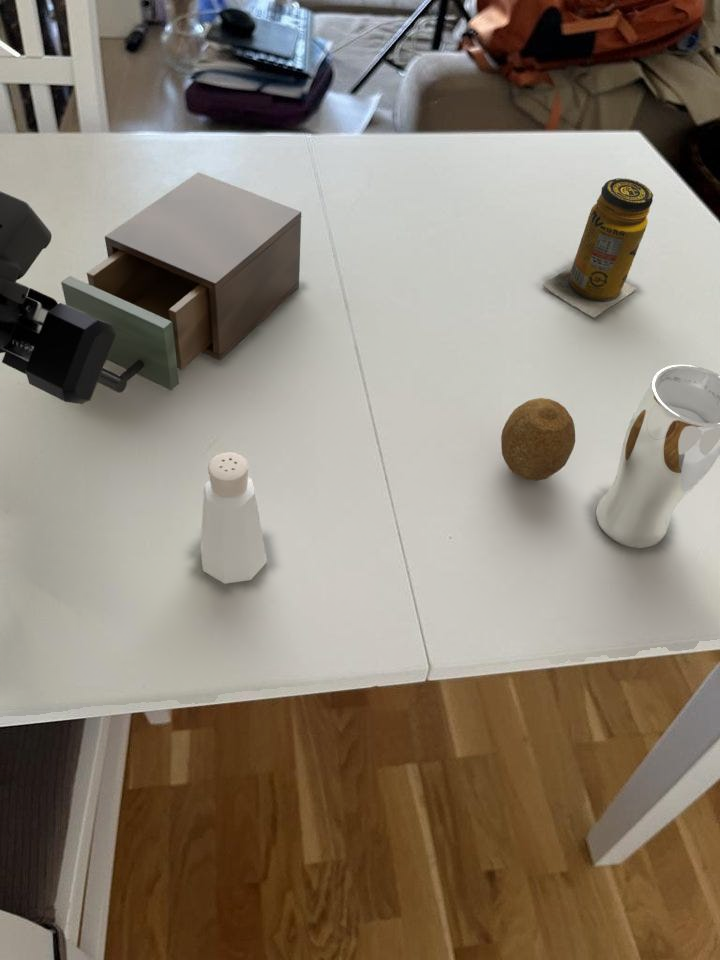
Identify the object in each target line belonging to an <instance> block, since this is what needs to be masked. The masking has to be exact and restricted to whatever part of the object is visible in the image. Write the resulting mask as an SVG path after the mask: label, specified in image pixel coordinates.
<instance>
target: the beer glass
mask: <svg viewBox="0 0 720 960" xmlns="http://www.w3.org/2000/svg"><path fill="white" fill-rule="evenodd" d="M621 447H622V448H621V452H620V456H619V461H618V466H617V467H618V468H617V471H616V475H615V478H614V480H613V482H612V485H611V486H610V488H609V489H608V490H607V492H605V494H604V495H603V496H602V497H601V498H600V500H599V501H598V502H597V505H596V509H595V517H596V520H597V523H598V525H599V527H600V528H601V530H602V531H603V533H605V535H607V536H608V538H610V539H612V540H613V541H614V542H616V543H618V544H620V545H622V546H626V547H629V548H633V549H634V548H635V549H646V548H652V547H654V546H656V545H657V544H659V543H660V542H661V541H662V540H663V539H664V538H665V536H666V534H667V531H668V528H669V524H670V521H671V517H672V515H673V512H674V511H675V509H676V507H677V506H678V505H679V504H680V502H681V501H682V500H683V499H684V498H685V497H686V496H687V495H688V494H689V493H690V492H691V491H692V490H693V489H694V488H695V487H696V486H697V485H698V484H699V482H701V480H703V479H704V477H705V476H706V475H707V474H708V472H709V471H710V470H711V469H712V468H713V466H714V464H715V463H716V462H717V460H718V458H719V457H720V375H719V374H717V373H715V372H714V371H712V370H709V369H707V368H704V367H700V366H697V365H691V364H673V365H669V366H666V367H663V368H662V369H660V370H658V371H657V372H656V374H655V375H654V376H653V378H652V381H651V382H650V384H649V386H648V387H647V389H646V391H645V392H644V394H643V396H642V397H641V399H640V401H639V403H638V404H637V406H636V409H635V411H634V412H633V415H632V417H631V419H630V421H629V423H628V427H627V429H626V431H625V436H624V439H623V443H622V446H621Z"/></svg>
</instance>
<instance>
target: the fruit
mask: <svg viewBox="0 0 720 960" xmlns="http://www.w3.org/2000/svg"><path fill="white" fill-rule="evenodd" d="M500 437H501V438H500V441H501V443H500V445H501V456H502V457H503V461H504V462H505V464H506V465H507V467H508V470H510V471H511V472H512V473H514V474H515V475H516V476H517V477H520V478H522V479H525V480H528V481H540V480H546V479H548V478H550V477H551V476H553V475H554V474H556V473H558V472H559V471H560V470H562V469H563V468H564V467H565V465H566V464H567V462H568V460H569V459H570V457H571V455H572V452H573V451H574V448H575V444H576V428H575V423H574V419H573V418H572V416H571V414H570V413H569V411H568V410H567V408H566V407H565V406H564V405H562V404H561V403H560V402H559V401H556V400H554V399H550V398H544V397H539V398H533V399H530V400H527V401H525V402H524V403H522V404H520V405H519V406H517V408H515V409H514V410H513V411H512V412H511V413H510V415H509V416H508V418H507V420H506V422H505V423H504V426H503V428H502V430H501V436H500Z"/></svg>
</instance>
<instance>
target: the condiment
mask: <svg viewBox="0 0 720 960" xmlns="http://www.w3.org/2000/svg"><path fill="white" fill-rule="evenodd" d="M600 191H601V193H600V195H599V196H598V198H597V199H596V203H595V204H594V205H593V206H592V207H591V209H590V212H589V214H588V217H587V220H586V224H585V226H584V230H583V233H582V236H581V238H580V242H579V245H578V248H577V251H576V254H575V257H574V260H573V262H572V266H571V267H569V268H567V269H565V270H564V271H562V272H560V273H558V274H556V275H554V277H552V278H551V279H548V280H546V281H545V282H543V283H542V284H541V286H543V287H544V288H546V289H547V290H548V291H549V292H551V293H552V294H554V295H556V296H557V297H558V298H560V299H562V300H563V301H565V302H566V303H568V304H569V305H570V307H571V306H572V307H574V308H577V309H578V310H580V311H581V312H582V313H585V314H587V315H588V316H590V317H591V318H593V319H595V318H596V317H598V316H599V315H601V314H602V313H604V311H606V310H607V309H609V308H611V307H612V306H614V305H615V304H617V303H619V302H620V301H622V300H623V299H625V298H626V297H628V296H629V295H631V294H632V293H633V292H634V291H635V290H637V287H635V286H633V285H631V284H629V283H627V282H626V281H627V278H628V275H629V272H630V271H631V268H632V266H633V262H634V260H635V257H636V256H637V252H638V249H639V246H640V244H641V242H642V239H643V237H644V234H645V232H646V229H647V226H648V221H649V220H648V215H649V213H650V208H651V205H652V204H653V202H654V201H653V198H654V193H653V192H652V191H651V189H650V188H649V187H648V186H646V185H645V184H643V183H642V182H639V181H638V180H634V179H631V178H623V177H622V178H621V177H619V178H618V177H617V178H613V179H609V180H608V181H606V182H605V183H604V184H603V186H602V187H601V190H600Z"/></svg>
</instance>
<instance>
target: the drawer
mask: <svg viewBox="0 0 720 960" xmlns="http://www.w3.org/2000/svg"><path fill="white" fill-rule="evenodd" d="M86 277H87V282H85V281H83V280H80V279H78V278H76V277H74V276H71V275H69V276H67V277H66V278H64V279H63V280H62V281H61V282H60V284H61V289H62V292H63V297H64V302H65V305H68V306H71V307H73V308H76V309H78V310H81V311H83V312H86V313H88V314H90V315H92V316H94V317H96V318H99V319H101V320H103V321H105V322H107V323H109V324H112V325H113V328H114V331H115V334H116V336H115V339H114V341H113V344H112V346H111V349H110V351H109V354H108V356H107V359H106V361H108V362H110V363H112V364H114V365H116V366H118V367H121V368H122V369H125V370H124V371H123V372H122V373H121V374H117V373H115V372H113V371H110V370H109V369H106V368H105V367H103V369H102V372H101V374H100V377H99V379H98V382H97V384H99V385H101V386H103V387H106V388H107V389H110V390H112V391H114V392H116V393H119V394H121V393H123V392H124V391H125V389H126V388H127V386H128V381H130V380H131V379H132V378H133V377H134V376H135V375H138V376H139V377H141V378H143V379H146V380H148V381H149V382H152V383H153V384H156V385H158V386H160V387H162V388H165V389H167V390H169V391H173V390H174V389H176V387H177V386H179V385H180V377H179V370H180V371H183V370H184V369H185V368H186V367H187V366H189V364H191V363H192V362H193V361H194V360H195V359H196V358H197V357H199V356H200V355H201V354H203V353H202V352H203V351H204V350H205V349H206V348H207V347H208V346H209V345H210V344H212V343H213V339H212V324H211V310H210V295H209V288H208V287H206V286H203V285H201V284H199V283H196V282H194V281H192V280H189V279H187V278H185V277H182V276H180V275H178V274H175V273H173V272H171V271H169V270H166V269H164V268H162V267H159V266H157V265H155V264H152V263H150V262H148V261H145V260H143V259H141V258H138V257H136V256H134V255H131V254H129V253H127V252H124V251H122V250H119V251H117V252H116V253H114V254H113V255H111V256H110V257H109V258H108V257H107V258H106V259H104V260H103V261H102V262H100V263H99V264H97V265H96V266H95V267H93V268H92V269H90V270H89V271H87V272H86Z"/></svg>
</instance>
